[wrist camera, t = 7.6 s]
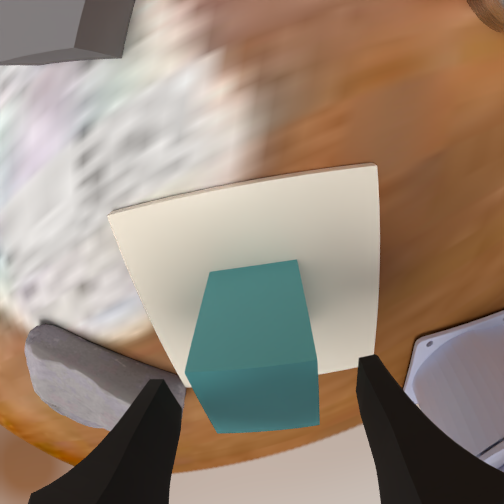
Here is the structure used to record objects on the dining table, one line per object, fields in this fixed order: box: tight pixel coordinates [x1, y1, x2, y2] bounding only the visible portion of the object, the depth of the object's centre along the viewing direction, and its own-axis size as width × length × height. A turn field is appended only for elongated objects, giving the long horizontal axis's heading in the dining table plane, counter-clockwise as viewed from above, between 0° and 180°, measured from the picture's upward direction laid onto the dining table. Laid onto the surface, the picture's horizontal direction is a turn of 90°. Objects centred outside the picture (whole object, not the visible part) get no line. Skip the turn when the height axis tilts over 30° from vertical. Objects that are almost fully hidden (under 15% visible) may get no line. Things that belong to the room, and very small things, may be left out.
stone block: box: [25, 324, 186, 431], centre depth 19 cm, size 12×5×10 cm
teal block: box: [184, 259, 319, 433], centre depth 12 cm, size 4×4×6 cm
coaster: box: [107, 163, 380, 387], centre depth 15 cm, size 12×12×1 cm
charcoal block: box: [0, 0, 135, 65], centre depth 7 cm, size 5×5×4 cm
